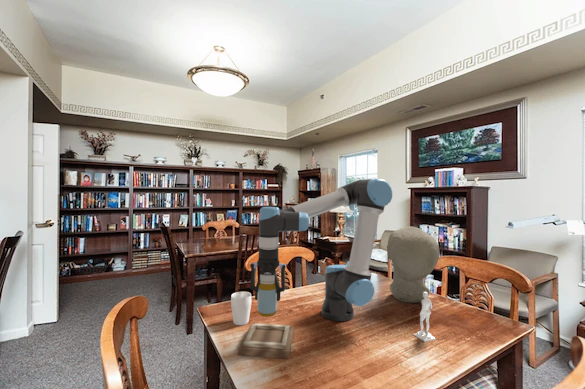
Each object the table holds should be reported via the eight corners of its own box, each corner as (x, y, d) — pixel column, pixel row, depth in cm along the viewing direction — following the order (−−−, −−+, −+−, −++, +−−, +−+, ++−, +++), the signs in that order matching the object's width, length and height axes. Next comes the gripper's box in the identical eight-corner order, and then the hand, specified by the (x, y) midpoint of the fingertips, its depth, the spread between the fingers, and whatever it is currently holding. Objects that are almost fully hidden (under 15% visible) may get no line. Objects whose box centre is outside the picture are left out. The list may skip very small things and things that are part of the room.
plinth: (293, 332, 113) (293, 323, 113) (288, 358, 95) (289, 348, 95) (250, 330, 115) (250, 321, 115) (237, 355, 97) (237, 344, 97)
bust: (441, 299, 151) (442, 226, 151) (436, 319, 127) (437, 231, 127) (393, 290, 164) (394, 223, 164) (380, 307, 140) (381, 228, 140)
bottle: (258, 309, 108) (259, 271, 108) (276, 309, 109) (277, 271, 109) (257, 317, 101) (258, 276, 101) (276, 317, 102) (277, 276, 102)
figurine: (429, 331, 115) (429, 288, 116) (441, 339, 109) (441, 293, 109) (411, 333, 114) (411, 289, 114) (422, 342, 107) (422, 295, 107)
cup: (247, 327, 117) (247, 299, 117) (227, 325, 119) (227, 297, 119) (254, 318, 126) (254, 292, 126) (235, 316, 128) (235, 290, 128)
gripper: (294, 246, 108) (293, 306, 108) (247, 245, 110) (245, 303, 110) (292, 250, 101) (291, 314, 101) (241, 248, 102) (240, 311, 102)
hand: (267, 308), depth 105 cm, fingers closed on bottle, 6 cm apart
